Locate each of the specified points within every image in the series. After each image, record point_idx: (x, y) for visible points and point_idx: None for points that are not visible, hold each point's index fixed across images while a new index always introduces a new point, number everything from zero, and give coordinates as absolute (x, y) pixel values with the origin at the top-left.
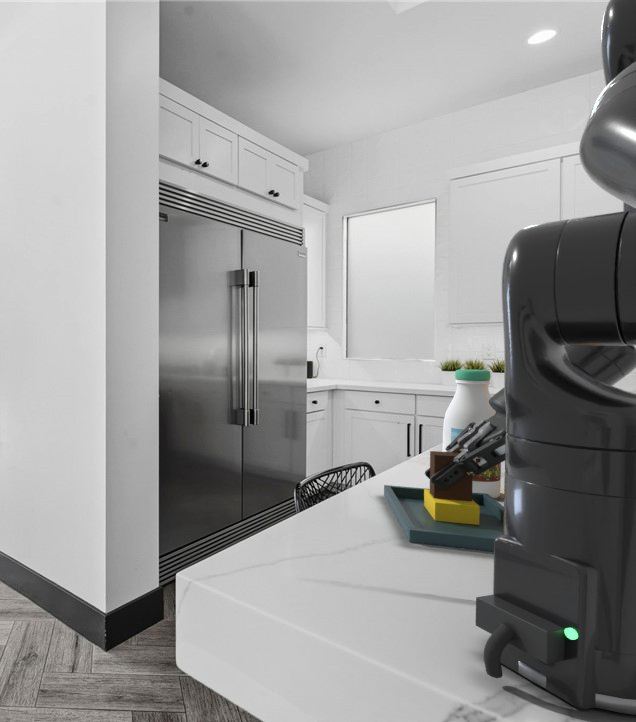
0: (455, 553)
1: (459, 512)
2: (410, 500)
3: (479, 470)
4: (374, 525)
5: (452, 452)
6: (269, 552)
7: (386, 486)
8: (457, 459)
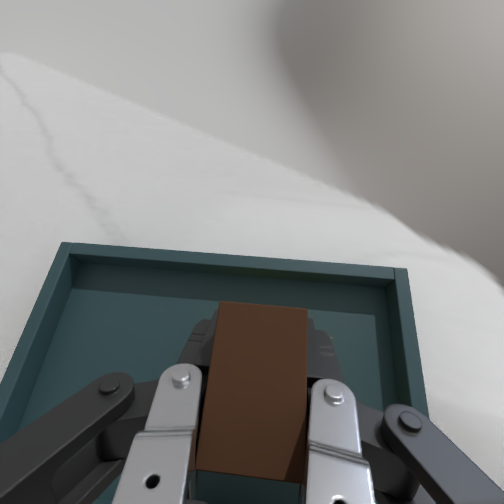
0: None
1: None
2: (364, 325)
3: (90, 442)
4: (181, 225)
5: (300, 403)
6: (58, 102)
7: (391, 270)
8: (161, 375)
